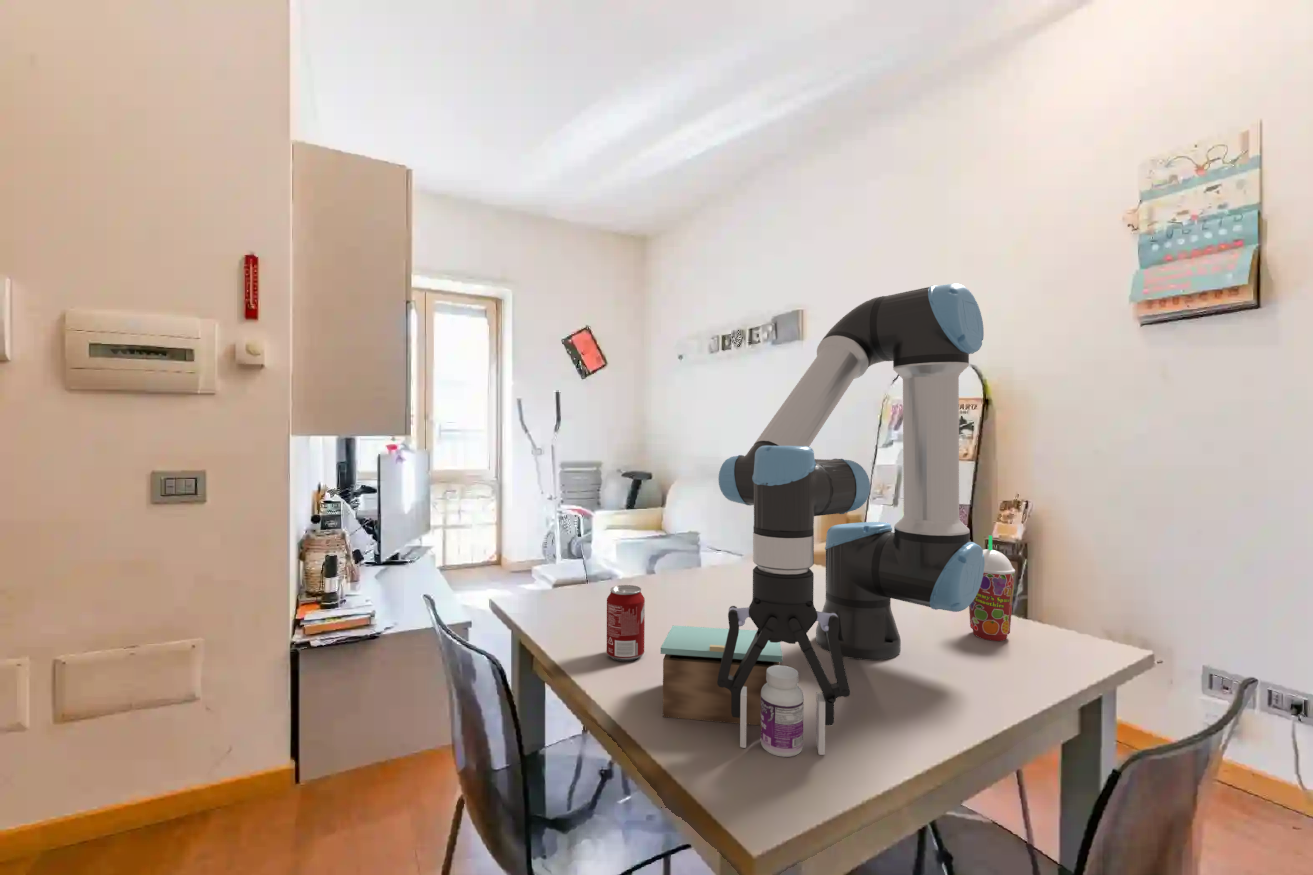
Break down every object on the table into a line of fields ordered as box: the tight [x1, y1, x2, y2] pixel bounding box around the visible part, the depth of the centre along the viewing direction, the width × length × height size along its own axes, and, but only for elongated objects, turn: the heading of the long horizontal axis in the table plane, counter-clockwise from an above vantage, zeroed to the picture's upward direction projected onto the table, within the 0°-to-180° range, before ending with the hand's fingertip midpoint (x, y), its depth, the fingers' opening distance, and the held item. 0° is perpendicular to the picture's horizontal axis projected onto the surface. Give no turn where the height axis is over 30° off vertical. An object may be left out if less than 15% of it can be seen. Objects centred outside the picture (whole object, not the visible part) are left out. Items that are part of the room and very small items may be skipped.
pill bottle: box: [760, 664, 805, 758], centre depth 73 cm, size 5×5×10 cm
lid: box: [660, 625, 784, 663], centre depth 85 cm, size 17×13×1 cm
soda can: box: [605, 584, 646, 662], centre depth 103 cm, size 7×7×12 cm
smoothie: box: [968, 535, 1016, 642], centre depth 114 cm, size 8×8×20 cm
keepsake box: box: [662, 654, 780, 726], centre depth 85 cm, size 16×12×8 cm
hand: (781, 745), depth 73 cm, fingers open, 9 cm apart
